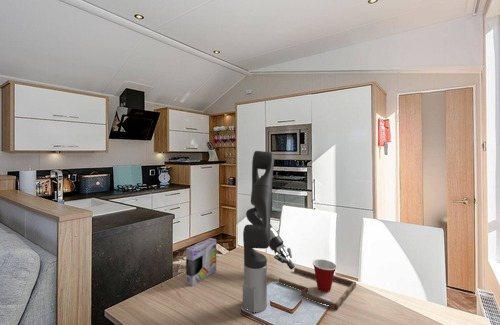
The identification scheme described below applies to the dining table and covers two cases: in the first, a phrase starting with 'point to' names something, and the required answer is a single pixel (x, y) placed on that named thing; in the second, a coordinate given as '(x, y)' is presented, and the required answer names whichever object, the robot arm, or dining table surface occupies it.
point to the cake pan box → (200, 261)
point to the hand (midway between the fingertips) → (293, 268)
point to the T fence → (318, 299)
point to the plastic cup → (324, 274)
